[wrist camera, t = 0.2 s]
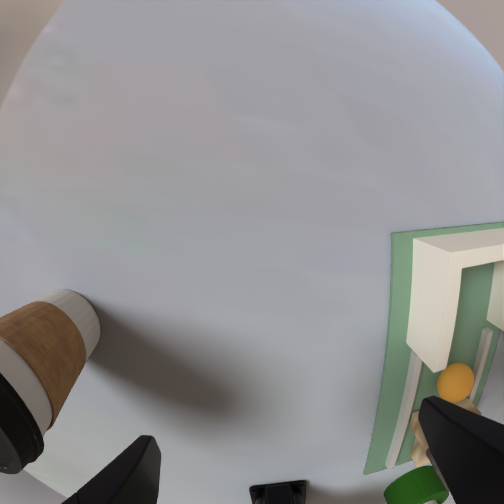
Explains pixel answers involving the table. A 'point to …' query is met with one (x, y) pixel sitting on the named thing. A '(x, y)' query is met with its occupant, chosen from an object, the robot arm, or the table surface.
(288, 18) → the table surface
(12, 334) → the coffee cup
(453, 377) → the ball
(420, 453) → the kicker
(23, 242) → the table surface
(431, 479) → the candle
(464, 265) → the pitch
